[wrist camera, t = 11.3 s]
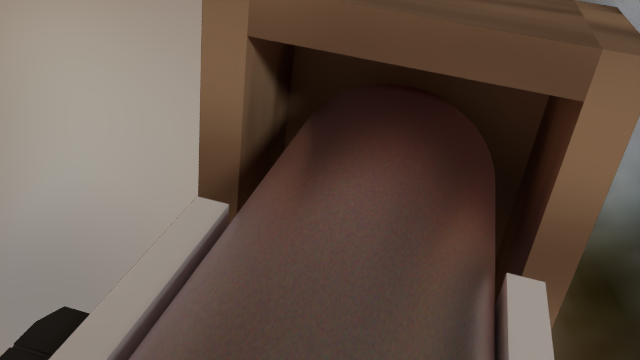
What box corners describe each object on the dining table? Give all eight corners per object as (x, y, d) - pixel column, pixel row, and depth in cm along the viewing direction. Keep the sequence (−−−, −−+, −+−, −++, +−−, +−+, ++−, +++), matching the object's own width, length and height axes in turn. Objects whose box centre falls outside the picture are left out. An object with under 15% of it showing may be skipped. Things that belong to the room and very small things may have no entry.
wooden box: (275, -51, 19) (202, -24, 14) (617, 7, 17) (662, 60, 13) (254, 221, 24) (196, 308, 19) (517, 287, 22) (522, 399, 18)
